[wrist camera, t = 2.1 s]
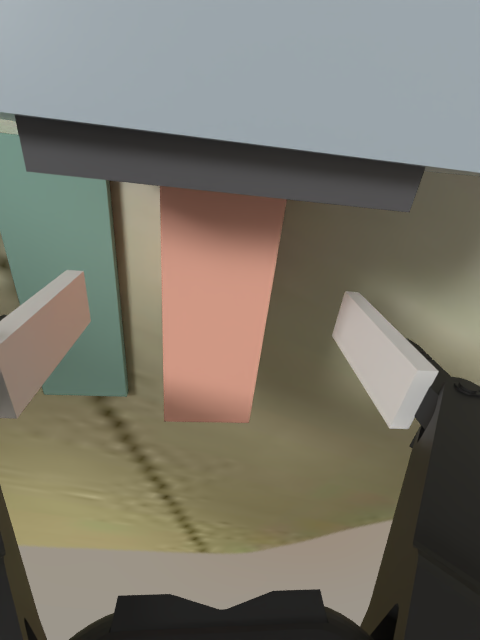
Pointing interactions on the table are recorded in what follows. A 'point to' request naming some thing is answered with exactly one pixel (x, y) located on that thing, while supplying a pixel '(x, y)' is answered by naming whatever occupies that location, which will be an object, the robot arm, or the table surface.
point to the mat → (66, 263)
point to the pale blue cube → (247, 94)
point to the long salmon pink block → (215, 299)
